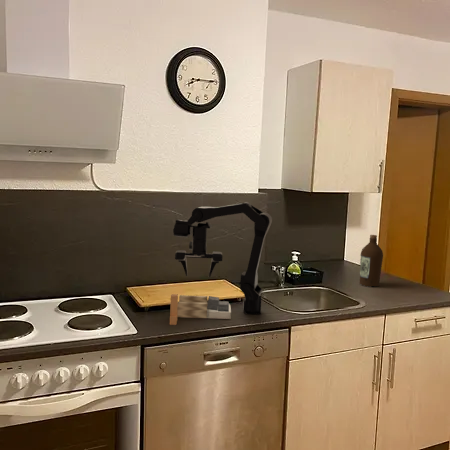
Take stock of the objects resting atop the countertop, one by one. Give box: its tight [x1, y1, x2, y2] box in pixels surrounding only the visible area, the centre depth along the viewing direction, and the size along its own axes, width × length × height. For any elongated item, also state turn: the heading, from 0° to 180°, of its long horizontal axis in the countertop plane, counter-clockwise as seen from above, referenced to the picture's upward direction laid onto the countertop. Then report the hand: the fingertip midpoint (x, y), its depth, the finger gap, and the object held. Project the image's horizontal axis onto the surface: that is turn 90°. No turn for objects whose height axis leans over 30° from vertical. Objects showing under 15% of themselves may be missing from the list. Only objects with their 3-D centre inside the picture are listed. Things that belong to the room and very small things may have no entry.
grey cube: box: [207, 295, 220, 311], centre depth 184 cm, size 4×4×4 cm
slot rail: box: [177, 294, 209, 319], centre depth 184 cm, size 11×10×6 cm
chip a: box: [218, 300, 230, 312], centre depth 184 cm, size 4×4×4 cm
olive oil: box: [359, 234, 384, 287], centre depth 236 cm, size 11×11×25 cm
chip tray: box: [206, 302, 232, 320], centre depth 185 cm, size 9×10×2 cm
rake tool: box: [169, 293, 179, 326], centre depth 174 cm, size 2×6×10 cm, turn 2°
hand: (198, 276), depth 193 cm, fingers open, 9 cm apart
